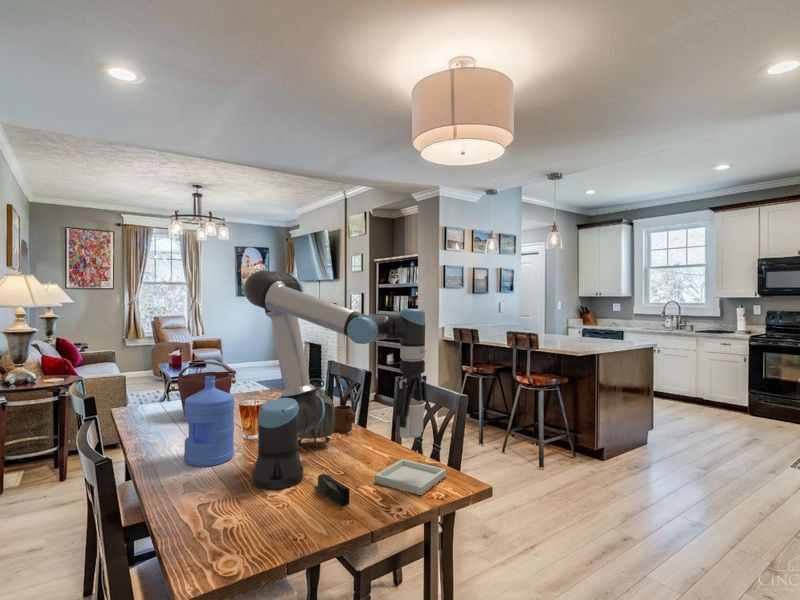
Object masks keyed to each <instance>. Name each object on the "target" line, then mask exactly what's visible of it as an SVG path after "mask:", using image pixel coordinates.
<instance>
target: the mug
mask: <svg viewBox="0 0 800 600" xmlns="http://www.w3.org/2000/svg"><path fill="white" fill-rule="evenodd" d="M334 408H335V426H334V431H335V432H337V433H347V432H350V431H352V429H353V423H354V422H355V420H356V414H355V412H354V411H353V406H351V405H337V406H334Z"/></svg>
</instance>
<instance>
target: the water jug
mask: <svg viewBox="0 0 800 600" xmlns="http://www.w3.org/2000/svg"><path fill="white" fill-rule="evenodd" d="M205 379H206V381H205V388H204V389H203V390H201V391H199V392H197V393H195V394H193V395H191V396H189V397H188V398H186V400H185V406H184V412H185V416H184V421H185V422H187V424H188V436H187V437H186V438H185V439H184V452H183V453H184V454H183V461H184V463H185V464H186V465H189V466H193V467H210V466H211V467H212V466H217V465H220V464H224V463H226V462H228V461H230V460H231V459H232V458H233V457H234V454H235V448H234V442H235V441H234V440H235V439H234V438H235V437H234V436H235V435H234V434H235V423H234V421H235V419H234V417H235V416H234V415H235V397H234V395H233V394H231V393H230V394H229V393H227V392H224V391H221V390H219V389H216V388H215V376H206V377H205ZM184 412H183V413H184Z"/></svg>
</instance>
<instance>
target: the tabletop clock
mask: <svg viewBox="0 0 800 600" xmlns="http://www.w3.org/2000/svg"><path fill="white" fill-rule="evenodd" d="M311 381H319V382H321V383H322V385H321V386H319V387H317V386H316V385H313V386H314V387H315V389H316V394H317V395H319V397H321V398H322V400H323V401H324V404H325V415H324V418H323V420H322V421H321V422H320V424H318V425H317V426H316V427H315V428H314V429H312V430H310V431H307V432H305V433H304V434H302V435H300V436H298V438H299V439H298V445H301V444H302V440H303V439H309V440H310V439H311V440H312V439H313V442H314V443H313V444H312V447H314V448H317V447H318V443H317V439H321V438H325V441H326V442H327V443H328V442H330V440H331V439H330V436H331V435H333V433H334V431H335V430H334V426H335V404H334V402H333V400H332V398H331V397H330V396H328V395H324V394H322V393H321V391H320V390H321V389H322V388H324V387H325V381H324V380H323V379H322V378H319V377H318V378H315V377H314V378H309V382H311Z"/></svg>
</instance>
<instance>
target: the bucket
mask: <svg viewBox="0 0 800 600" xmlns="http://www.w3.org/2000/svg"><path fill="white" fill-rule="evenodd" d="M201 364H206V365H207V364H208V365H215V366H219V367H222V368H223V369H224V370H226V371H228V372H224V371H223V372H222V371H221V372H219V371H204V372H196V373H194V372H193V373H192V372H191V373H186V374H185V375H184V373H185V372H186V371H187V370H188V369H190V368H192V367H194V366H197V365H201ZM231 372H232V373H231ZM235 375H236V372H235V370H234V369H233V368H232V367H229V366H228V365H227V364H225V363H221V362H216V361H200V362H196V363H193V364H190V365H188V366H186V367H185V368H182V370H180V372H179V373H178V376H177V388H178V392H179V396H180V401H181V407H182V411H183V415H184V417H185V412H184V406H185V400H186V398H188V397H189V396H191V395H193V394H195V393H197V392H199V391H201V390H203V389H204V388H205V381H206V379H205V377H206V376H215V388H216V389H219V390H221V391H224V392H227V393H229V394H231V387H232V383H233V382H232V381H233V380H232V379H233V378H234V376H235Z"/></svg>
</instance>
